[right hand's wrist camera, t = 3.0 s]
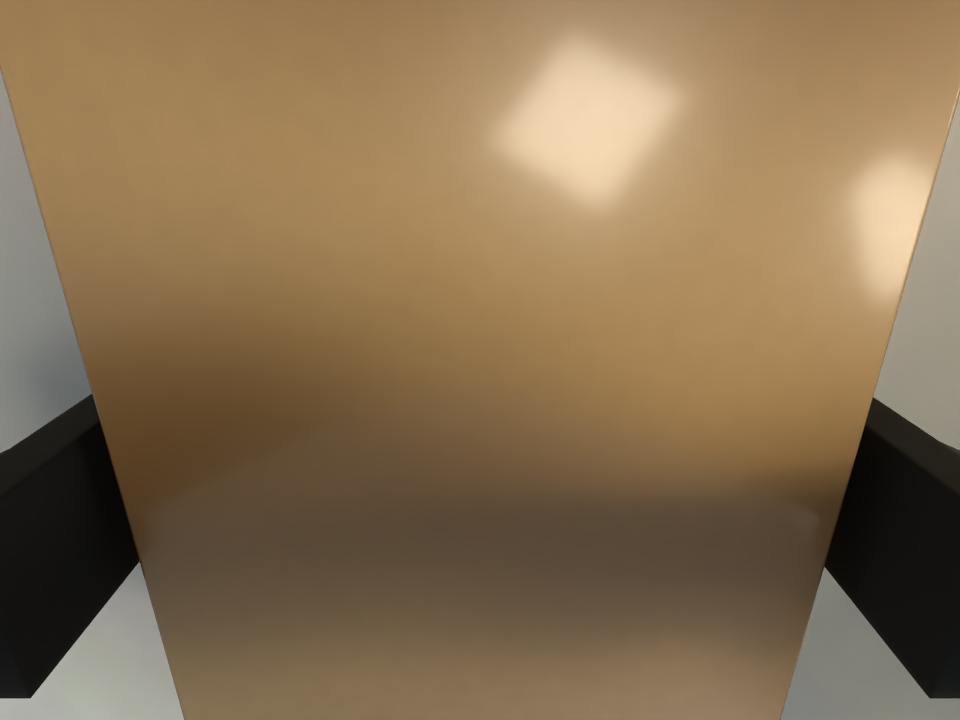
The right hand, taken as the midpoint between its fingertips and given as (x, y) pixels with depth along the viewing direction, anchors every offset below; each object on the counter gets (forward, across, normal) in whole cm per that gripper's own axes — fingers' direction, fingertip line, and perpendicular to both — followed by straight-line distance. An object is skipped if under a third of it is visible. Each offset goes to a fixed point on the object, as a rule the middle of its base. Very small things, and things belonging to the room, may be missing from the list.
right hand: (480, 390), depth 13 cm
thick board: (+1, 0, -26) cm, 26 cm away
